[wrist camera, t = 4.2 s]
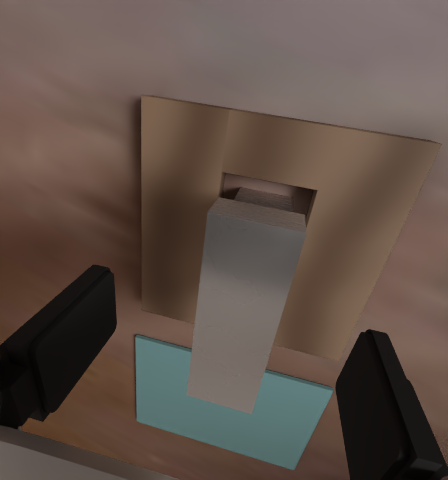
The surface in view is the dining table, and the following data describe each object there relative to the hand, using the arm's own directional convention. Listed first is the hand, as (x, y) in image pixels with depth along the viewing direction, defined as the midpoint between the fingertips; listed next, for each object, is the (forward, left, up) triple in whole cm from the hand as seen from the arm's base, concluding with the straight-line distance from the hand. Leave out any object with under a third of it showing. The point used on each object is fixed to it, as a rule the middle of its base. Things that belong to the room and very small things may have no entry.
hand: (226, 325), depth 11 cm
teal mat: (0, +17, -8) cm, 19 cm away
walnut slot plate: (0, 0, -8) cm, 8 cm away
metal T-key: (0, 0, -8) cm, 8 cm away
